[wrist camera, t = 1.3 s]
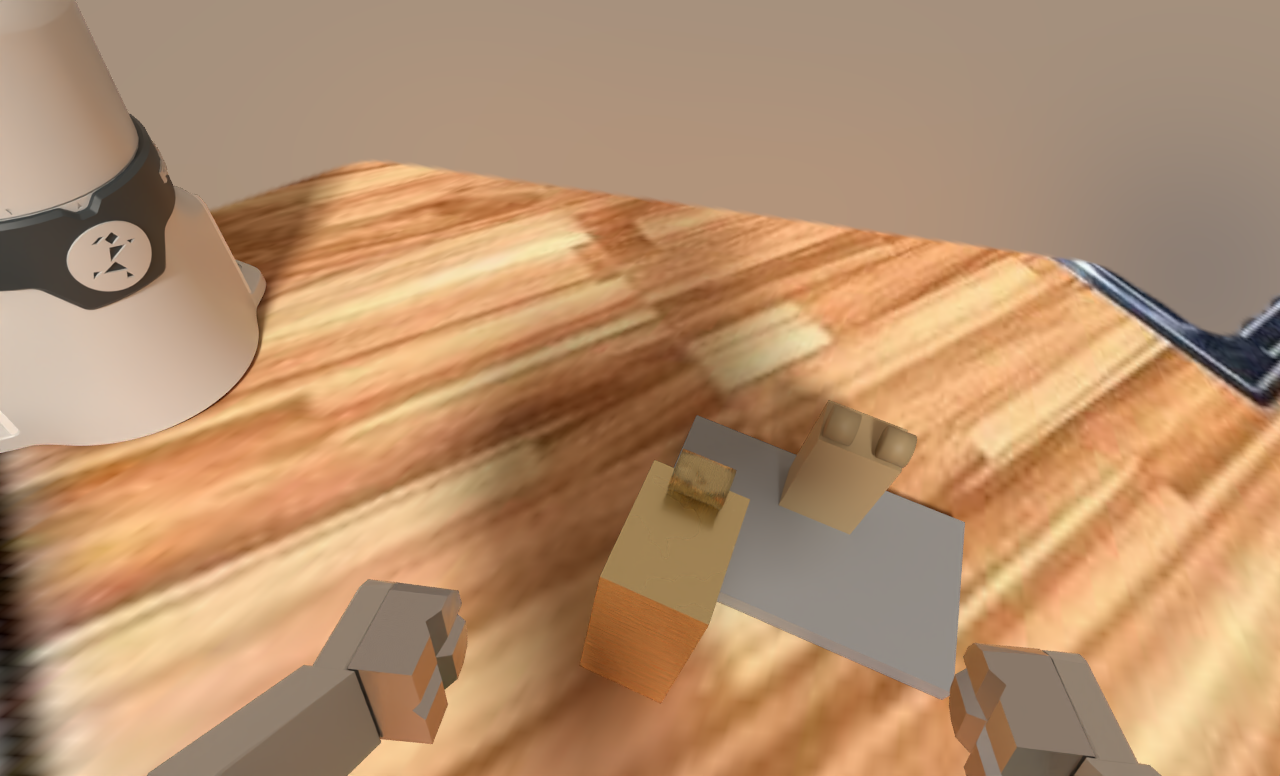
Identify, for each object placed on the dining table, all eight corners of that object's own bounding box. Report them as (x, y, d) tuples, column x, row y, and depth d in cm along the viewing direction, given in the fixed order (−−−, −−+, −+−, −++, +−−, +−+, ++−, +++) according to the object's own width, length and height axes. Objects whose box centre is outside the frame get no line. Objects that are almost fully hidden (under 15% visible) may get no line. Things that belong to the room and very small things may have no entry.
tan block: (579, 665, 34) (604, 556, 24) (626, 561, 38) (663, 431, 28) (660, 703, 33) (720, 606, 24) (699, 593, 37) (763, 471, 28)
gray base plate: (632, 563, 38) (661, 469, 30) (693, 425, 45) (729, 320, 37) (941, 699, 35) (1057, 634, 28) (955, 531, 42) (1050, 442, 35)
